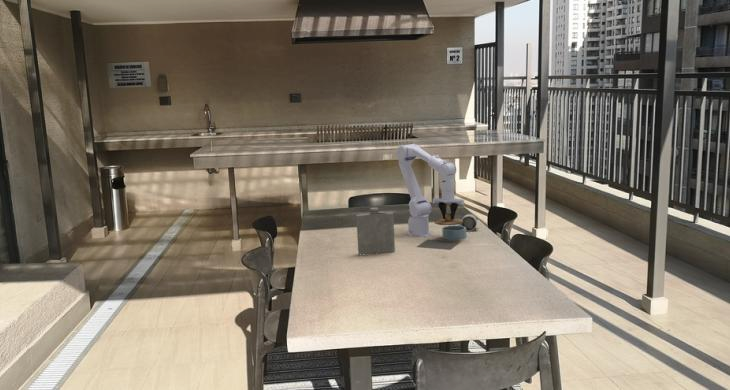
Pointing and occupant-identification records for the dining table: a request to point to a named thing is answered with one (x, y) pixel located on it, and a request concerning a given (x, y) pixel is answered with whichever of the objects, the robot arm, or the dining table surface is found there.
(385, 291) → the dining table surface
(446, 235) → the slate-blue bowl
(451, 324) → the dining table surface
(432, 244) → the rubber mat
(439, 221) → the walnut cover
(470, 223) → the ceramic mug
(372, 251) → the hip flask
